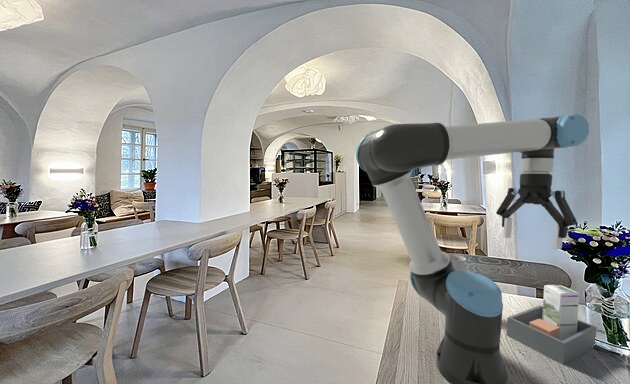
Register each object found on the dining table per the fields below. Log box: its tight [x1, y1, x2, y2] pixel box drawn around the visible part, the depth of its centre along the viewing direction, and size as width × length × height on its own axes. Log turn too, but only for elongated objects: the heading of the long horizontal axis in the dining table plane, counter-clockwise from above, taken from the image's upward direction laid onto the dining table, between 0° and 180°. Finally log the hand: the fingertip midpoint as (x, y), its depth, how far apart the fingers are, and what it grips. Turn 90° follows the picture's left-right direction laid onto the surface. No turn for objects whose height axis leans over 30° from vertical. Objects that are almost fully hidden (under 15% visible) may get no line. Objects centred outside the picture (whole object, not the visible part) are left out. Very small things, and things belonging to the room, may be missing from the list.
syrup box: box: [542, 284, 580, 341], centre depth 79 cm, size 6×6×14 cm
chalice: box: [447, 253, 467, 271], centre depth 99 cm, size 7×7×18 cm
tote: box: [506, 305, 598, 365], centre depth 78 cm, size 18×14×6 cm
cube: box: [529, 319, 560, 339], centre depth 77 cm, size 5×5×5 cm
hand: (530, 242), depth 82 cm, fingers open, 13 cm apart
